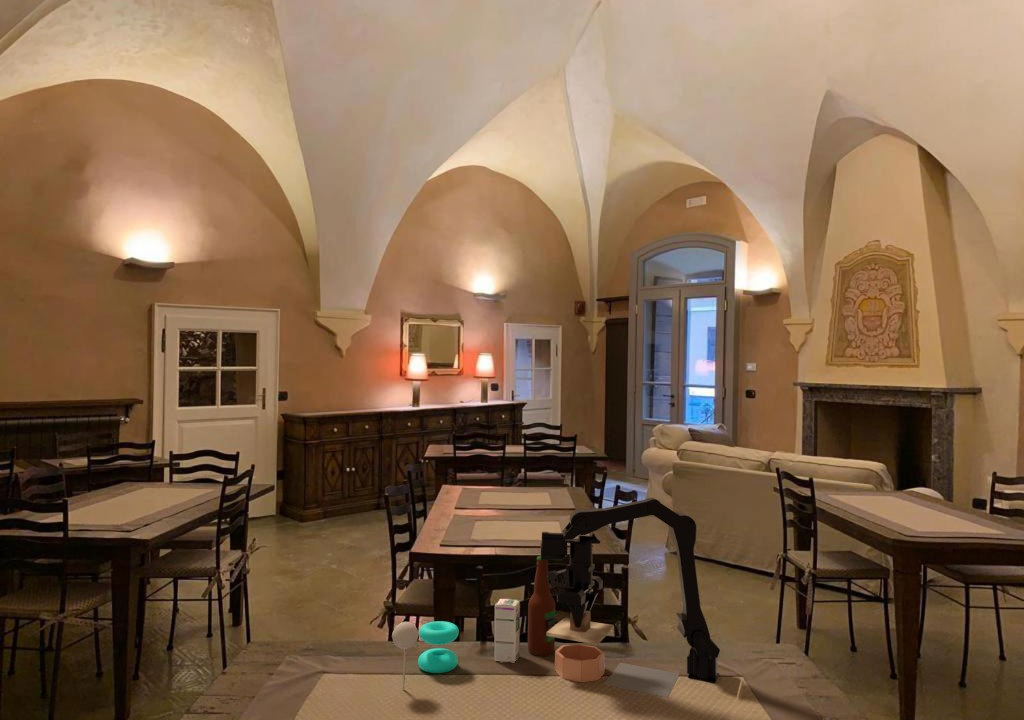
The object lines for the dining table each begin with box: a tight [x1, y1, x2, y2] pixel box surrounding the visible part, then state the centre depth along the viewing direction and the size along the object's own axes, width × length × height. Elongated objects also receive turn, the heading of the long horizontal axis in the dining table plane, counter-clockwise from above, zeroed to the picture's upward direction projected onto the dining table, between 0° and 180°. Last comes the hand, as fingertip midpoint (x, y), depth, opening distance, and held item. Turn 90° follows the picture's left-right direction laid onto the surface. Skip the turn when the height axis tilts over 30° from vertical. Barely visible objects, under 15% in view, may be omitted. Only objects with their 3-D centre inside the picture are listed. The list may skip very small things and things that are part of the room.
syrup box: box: [493, 598, 521, 662], centre depth 165 cm, size 6×6×14 cm
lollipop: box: [391, 621, 420, 691], centre depth 146 cm, size 6×6×15 cm
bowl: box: [554, 643, 606, 683], centre depth 157 cm, size 11×11×5 cm
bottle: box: [527, 555, 556, 657], centre depth 171 cm, size 7×7×25 cm
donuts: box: [417, 620, 460, 674], centre depth 159 cm, size 10×10×10 cm
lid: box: [546, 610, 614, 646], centre depth 157 cm, size 13×13×5 cm
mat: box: [603, 662, 680, 699], centre depth 153 cm, size 15×15×1 cm
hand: (580, 624), depth 157 cm, fingers closed on lid, 4 cm apart
